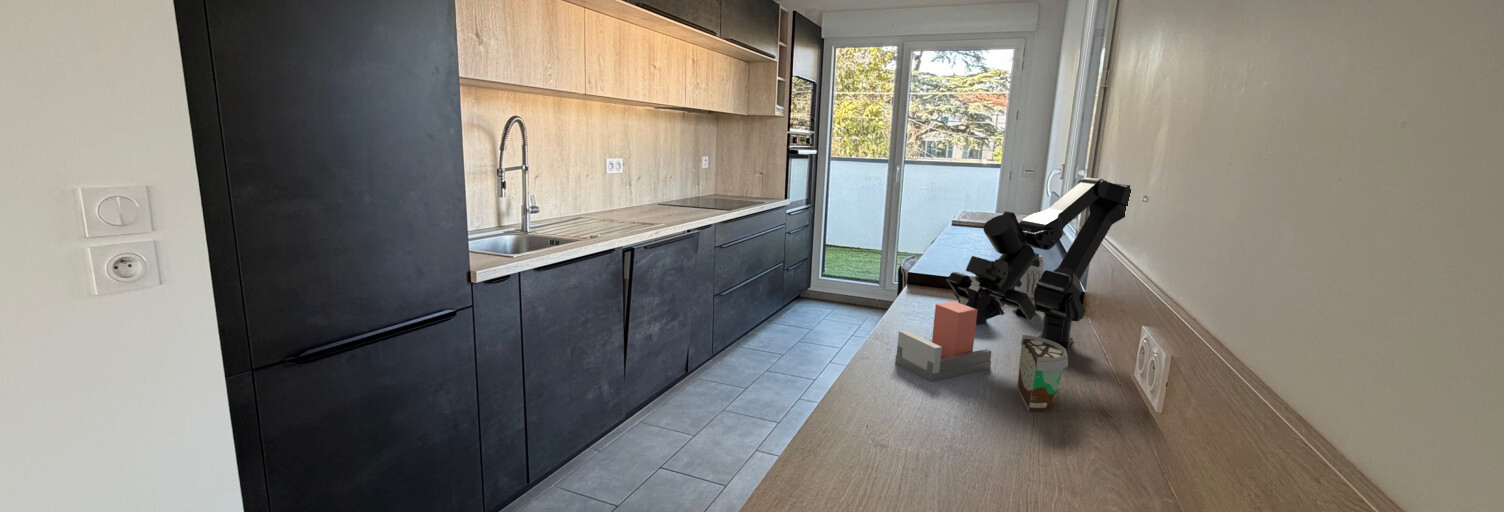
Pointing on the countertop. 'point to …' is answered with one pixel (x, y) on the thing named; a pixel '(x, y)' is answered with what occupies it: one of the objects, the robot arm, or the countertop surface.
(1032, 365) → the food container
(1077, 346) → the countertop surface
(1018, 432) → the countertop surface
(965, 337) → the red plug
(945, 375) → the grey slotted holder tray
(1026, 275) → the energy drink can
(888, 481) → the countertop surface
